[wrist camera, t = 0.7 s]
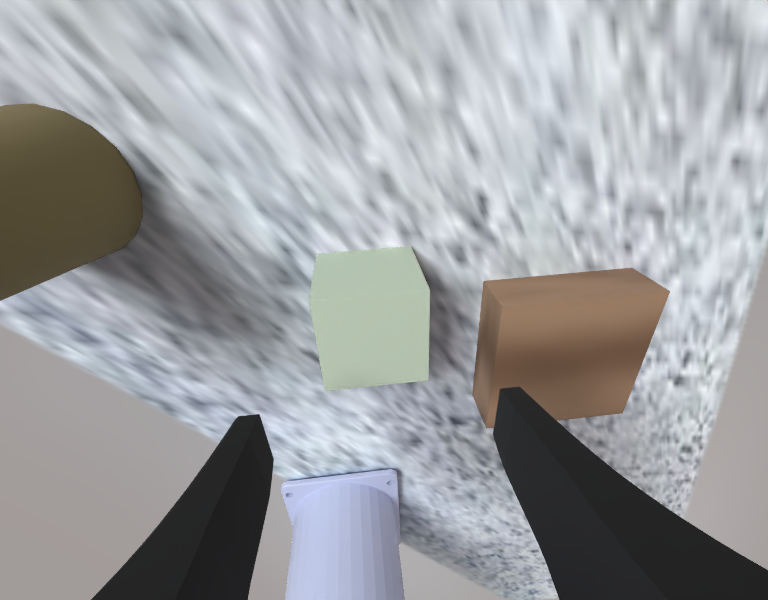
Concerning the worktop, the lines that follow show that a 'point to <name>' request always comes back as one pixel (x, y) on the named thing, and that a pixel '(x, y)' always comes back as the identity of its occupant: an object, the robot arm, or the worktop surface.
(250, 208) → the worktop surface
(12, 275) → the cork
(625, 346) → the walnut block
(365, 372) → the sage cube
